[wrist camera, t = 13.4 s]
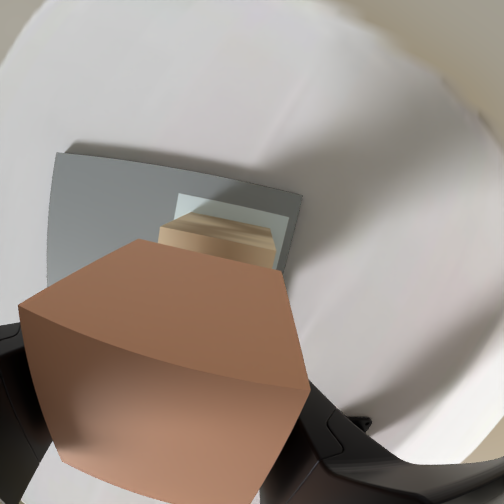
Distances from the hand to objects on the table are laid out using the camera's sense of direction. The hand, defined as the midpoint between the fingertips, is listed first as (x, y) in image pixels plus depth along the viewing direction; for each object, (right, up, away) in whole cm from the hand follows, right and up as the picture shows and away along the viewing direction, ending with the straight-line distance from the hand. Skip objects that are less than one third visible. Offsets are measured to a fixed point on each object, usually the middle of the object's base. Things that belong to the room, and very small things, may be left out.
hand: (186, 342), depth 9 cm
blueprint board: (-6, 0, +11) cm, 13 cm away
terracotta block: (0, 0, +1) cm, 2 cm away
